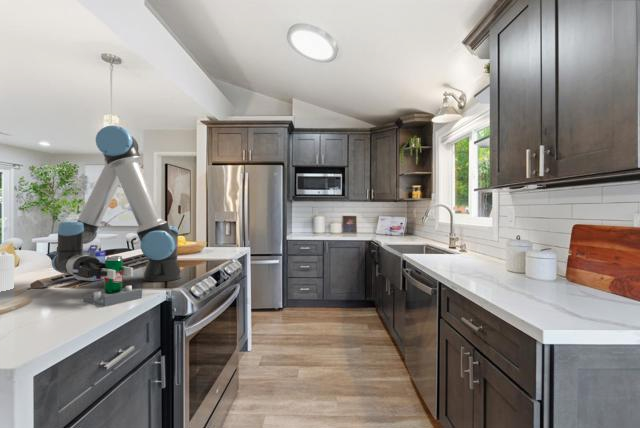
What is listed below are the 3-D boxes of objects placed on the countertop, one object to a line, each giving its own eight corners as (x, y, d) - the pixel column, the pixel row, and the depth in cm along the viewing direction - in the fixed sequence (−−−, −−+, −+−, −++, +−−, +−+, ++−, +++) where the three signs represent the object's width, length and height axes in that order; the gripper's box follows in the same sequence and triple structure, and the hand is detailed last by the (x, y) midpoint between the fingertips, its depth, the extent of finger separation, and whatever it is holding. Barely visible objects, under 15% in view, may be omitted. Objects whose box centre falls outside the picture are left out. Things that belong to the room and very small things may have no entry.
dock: (120, 293, 115) (120, 283, 115) (141, 298, 110) (142, 287, 110) (83, 300, 105) (83, 290, 105) (104, 306, 99) (105, 295, 99)
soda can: (115, 294, 105) (117, 257, 105) (100, 294, 105) (101, 257, 105) (125, 291, 110) (126, 256, 110) (110, 290, 110) (111, 255, 110)
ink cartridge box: (105, 279, 138) (106, 245, 138) (94, 281, 133) (95, 246, 133) (86, 277, 140) (87, 244, 140) (74, 280, 135) (75, 245, 135)
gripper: (109, 273, 123) (148, 280, 113) (53, 280, 107) (93, 290, 97) (110, 253, 123) (149, 258, 113) (54, 258, 107) (93, 265, 97)
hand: (123, 273), depth 105 cm, fingers closed on soda can, 5 cm apart
